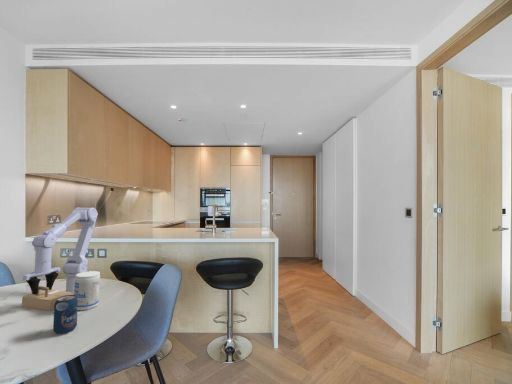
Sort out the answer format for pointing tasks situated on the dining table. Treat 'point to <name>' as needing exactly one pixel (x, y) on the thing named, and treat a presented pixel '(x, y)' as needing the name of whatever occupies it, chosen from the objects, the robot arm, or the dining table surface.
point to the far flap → (42, 295)
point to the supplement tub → (87, 289)
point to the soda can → (65, 314)
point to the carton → (42, 303)
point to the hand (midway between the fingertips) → (42, 291)
